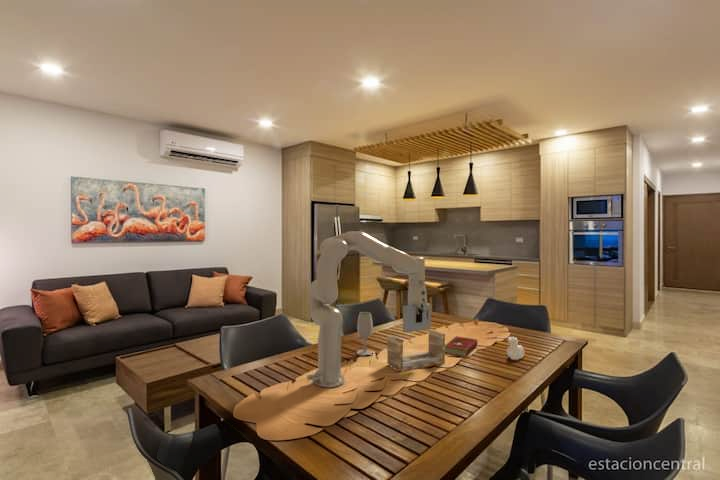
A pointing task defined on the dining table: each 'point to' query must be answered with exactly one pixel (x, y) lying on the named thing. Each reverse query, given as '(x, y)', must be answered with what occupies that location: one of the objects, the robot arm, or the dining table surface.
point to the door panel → (410, 319)
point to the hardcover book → (461, 345)
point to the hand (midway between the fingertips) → (416, 321)
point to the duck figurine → (515, 349)
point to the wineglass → (364, 330)
